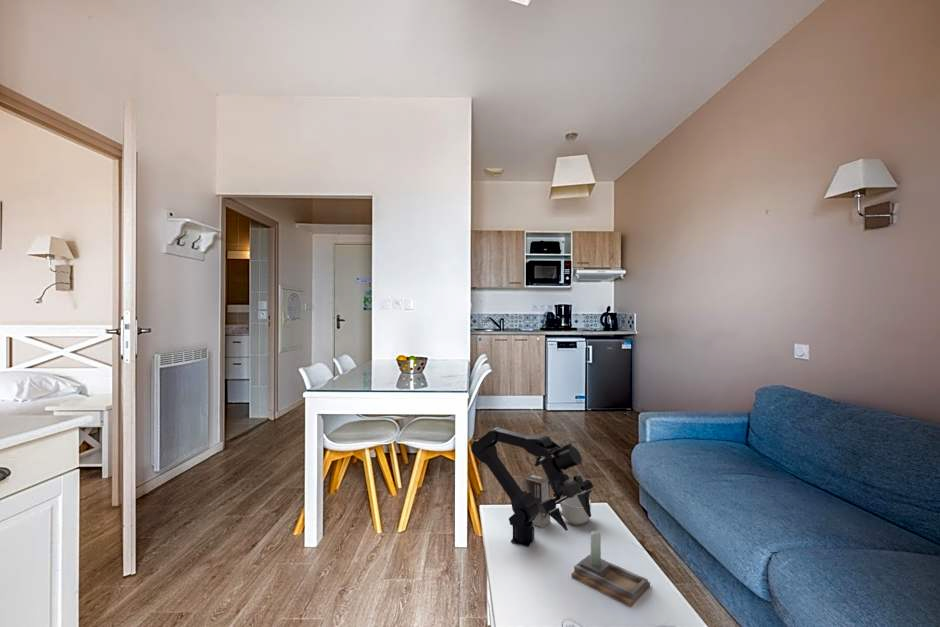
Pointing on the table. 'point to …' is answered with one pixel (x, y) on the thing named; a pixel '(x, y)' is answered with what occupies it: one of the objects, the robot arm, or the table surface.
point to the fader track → (614, 582)
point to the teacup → (574, 511)
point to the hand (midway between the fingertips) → (578, 523)
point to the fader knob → (596, 557)
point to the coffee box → (537, 494)
